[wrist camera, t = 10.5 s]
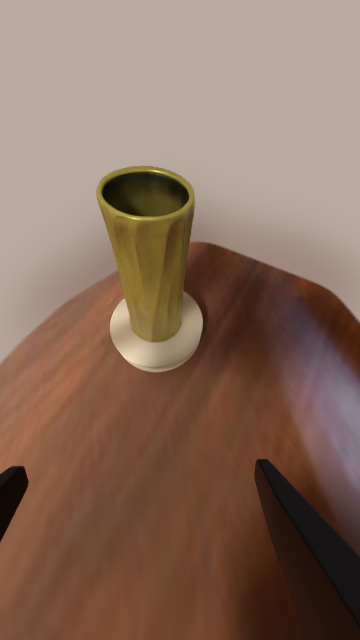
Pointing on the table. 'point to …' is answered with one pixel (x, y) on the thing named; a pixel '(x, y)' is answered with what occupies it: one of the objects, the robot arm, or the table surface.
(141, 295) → the vase
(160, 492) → the table surface
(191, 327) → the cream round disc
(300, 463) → the table surface
